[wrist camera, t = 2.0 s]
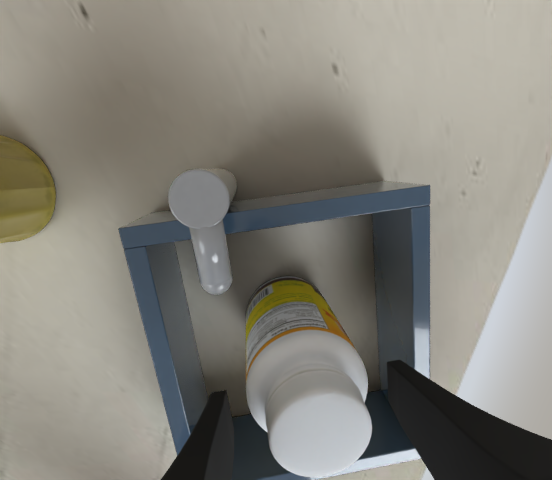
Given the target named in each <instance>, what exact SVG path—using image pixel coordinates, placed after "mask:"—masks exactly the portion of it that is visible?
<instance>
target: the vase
mask: <svg viewBox="0 0 552 480" xmlns="http://www.w3.org/2000/svg"><path fill="white" fill-rule="evenodd" d="M55 200H56V191H55V185H54V182H53V179H52V177H51V174H50V172H49V170H48V169H47V167H46V166H45V164H44V163H43V161H42V160H41V159H40V158H39V157H38V156H37V155H36V154H35V153H34V152H33V151H32V150H30V149H29V148H27V147H26V146H25V145H23V144H22V143H20V142H18V141H16V140H13V139H11V138H8V137H5V136H1V135H0V243H4V242H13V241H20V240H23V239H26V238H29V237H31V236H33V235H35V234H37V233H38V232H40V231H41V230H42V229H43V228H44V227H45V226H46V224H47V223H48V222H49V220H50V219H51V217H52V215H53V212H54V208H55Z"/></svg>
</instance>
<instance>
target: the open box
mask: <svg viewBox="0 0 552 480" xmlns="http://www.w3.org/2000/svg"><path fill="white" fill-rule="evenodd" d="M236 190H237V182H236V179H235V177H234V175H233V174H232V173H231V172H229V171H228V170H225V169H191V170H187V171H185V172H183V173H181V174H180V175H178V176H177V177H176V178H175V179H174V181H173V182H172V184H171V186H170V188H169V192H168V203H169V207H170V209H171V210H168V211H161V212H154V213H150V214H148V215H146V216H144V217H142V218H140V219H137V220H135V221H133V222H131V223H129V224H127V225H125V226H123V227H121V228H119V233H120V237H121V241H122V245H123V248H124V252H125V256H126V260H127V264H128V268H129V272H130V275H131V279H132V283H133V287H134V291H135V295H136V298H137V302H138V306H139V310H140V314H141V318H142V321H143V325H144V329H145V333H146V337H147V341H148V345H149V348H150V352H151V356H152V360H153V364H154V368H155V371H156V375H157V379H158V383H159V387H160V391H161V394H162V398H163V402H164V406H165V410H166V414H167V417H168V421H169V425H170V429H171V433H172V437H173V441H174V444H175V448H176V452H177V456H178V454H179V452H180V451H181V449H182V448H183V446H184V444H185V443H186V441H187V439H188V438H189V436H190V434H191V432H192V431H193V429H194V427H195V425H196V423H197V421H198V420H199V418H200V416H201V414H202V412H203V410H204V408H205V406H206V403H207V401H208V397H207V392H206V388H205V383H204V378H203V374H202V369H201V364H200V360H199V355H198V351H197V346H196V341H195V337H194V332H193V327H192V323H191V318H190V314H189V309H188V304H187V300H186V295H185V290H184V286H183V281H182V277H181V272H180V267H179V263H178V258H177V253H176V249H175V244H174V242H176V241H183V240H190V239H191V240H192V245H193V250H194V255H195V260H196V265H197V270H198V275H199V280H200V284H201V286H202V288H203V289H204V290H205V291H206V292H207V293H209V294H212V295H219V294H222V293H224V292H226V291H227V290H228V289H229V288H230V286H231V284H232V280H233V278H232V270H231V265H230V259H229V253H228V247H227V241H226V236H225V234H231V233H238V232H245V231H252V230H259V229H266V228H273V227H280V226H287V225H294V224H301V223H308V222H315V221H322V220H329V219H336V218H343V217H350V216H357V215H364V214H371V213H372V225H373V246H374V266H375V287H376V308H377V329H378V349H379V370H380V391H375V392H369V393H367V396H366V399H365V405H366V407H367V409H368V412H369V414H370V417H371V422H372V434H371V438H370V441H369V444H368V446H367V448H366V450H365V451H364V453H363V454H362V455H361V456H360V457H359V459H358V460H357V461H356V462H354V463H353V464H352V465H350V466H349V467H347V468H346V469H344V470H342V471H340V472H338V473H335V474H332V475H328V476H324V477H304V476H300V475H296V474H294V473H292V472H290V471H288V470H286V469H285V468H283V467H282V466H281V465H280V464H279V463H278V462H277V461H276V459H275V458H274V456H273V455H272V452H271V450H270V447H269V441H268V433H267V432H266V431H265V430H264V429H262V428H261V427H260V426H259V424H258V423H257V422H256V421H255V419H254V418H253V416H252V414H250V415H244V416H239V417H234V418H232V421H233V426H234V461H233V472H232V480H318V479H323V478H328V477H333V476H338V475H343V474H348V473H353V472H358V471H363V470H368V469H373V468H378V467H383V466H388V465H393V464H398V463H403V462H408V461H412V460H417V459H421V457H420V455H419V454H418V452H417V451H416V449H415V447H414V446H413V444H412V443H411V441H410V440H409V438H408V436H407V435H406V433H405V431H404V430H403V428H402V427H401V425H400V423H399V421H398V419H397V417H396V415H395V413H394V411H393V409H392V407H391V405H390V403H389V400H388V382H387V362H388V361H394V360H399V359H400V360H401V361H403V362H405V363H406V364H408V365H409V366H411V367H412V368H414V369H415V370H416V371H418V372H419V373H421V374H422V375H424V376H425V377H427V378H428V379H430V206H429V205H430V185H424V184H413V183H402V182H391V181H380V182H373V183H365V184H358V185H351V186H344V187H336V188H329V189H322V190H314V191H307V192H300V193H292V194H285V195H278V196H270V197H263V198H256V199H249V200H241V201H234V202H232V200H233V197H234V195H235V193H236Z"/></svg>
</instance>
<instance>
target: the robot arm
mask: <svg viewBox="0 0 552 480" xmlns="http://www.w3.org/2000/svg"><path fill="white" fill-rule="evenodd" d="M387 382H388V400H389V403H390V405H391V407H392V409H393V411H394V413H395V415H396V417H397V419H398V421H399V423H400V425H401V427H402V428H403V430H404V431H405V433H406V435H407V436H408V438H409V440H410V441H411V443H412V444H413V446H414V447H415V449H416V451H417V452H418V454H419V455H420V457H421V459H422V460H423V462H424V463H425V465H426V466H427V468H428V470H429V471H430V472H431V474H432V476H433V478H434V479H435V480H552V440H551V439H547V438H545V437H542V436H539V435H537V434H535V433H532V432H529V431H527V430H524V429H522V428H520V427H517V426H515V425H513V424H510V423H508V422H506V421H504V420H501V419H499V418H497V417H495V416H493V415H491V414H488V413H487V412H485V411H483V410H481V409H479V408H477V407H475V406H473V405H471V404H469V403H468V402H466V401H464V400H462V399H461V398H459V397H457V396H456V395H454V394H452V393H450V392H449V391H447V390H446V389H444V388H442V387H441V386H439V385H438V384H436V383H435V382H433V381H431V380H430V379H428V378H427V377H425V376H424V375H422V374H421V373H419V372H418V371H416V370H415V369H414V368H412V367H411V366H409V365H408V364H406V363H405V362H403V361H401V360H400V359H399V360H394V361H388V362H387ZM233 461H234V426H233V421H232V416H231V411H230V406H229V401H228V396H227V391H226V390H224V391H218V392H213V393H212V394H211V395H210V397H209V399H208V401H207V403H206V406H205V408H204V410H203V412H202V414H201V416H200V418H199V420H198V421H197V423H196V425H195V427H194V429H193V431H192V432H191V434H190V436H189V438H188V439H187V441H186V443H185V444H184V446H183V448H182V449H181V451H180V452H179V454H178V456H177V457H176V459H175V460H174V462H173V463H172V465H171V466H170V468H169V469H168V470H167V472H166V473H165V475H164V476H163V477H162V479H161V480H232V472H233Z"/></svg>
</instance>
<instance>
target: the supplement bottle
mask: <svg viewBox="0 0 552 480" xmlns="http://www.w3.org/2000/svg"><path fill="white" fill-rule="evenodd" d="M367 389H368V378H367V372H366V369H365V366H364V363H363V361H362V359H361V357H360V356H359V354H358V352H357V351H356V349H355V347H354V346H353V344H352V343H351V341H350V339H349V338H348V336H347V335H346V333H345V331H344V330H343V328H342V326H341V325H340V323H339V322H338V320H337V318H336V317H335V315H334V313H333V312H332V310H331V309H330V307H329V305H328V304H327V302H326V301H325V299H324V297H323V296H322V294H321V293H320V292H319V290H318V289H317V288H316V287H315V286H314V285H312V284H311V283H309V282H308V281H306V280H304V279H301V278H297V277H288V276H287V277H279V278H275V279H272V280H270V281H268V282H266V283H265V284H263V285H262V286H261V287H259V288H258V289H257V290H256V291H255V293H254V294H253V295H252V297H251V299H250V301H249V304H248V307H247V311H246V397H247V402H248V406H249V409H250V412H251V414H252V416H253V418H254V419H255V421H256V422H257V423H258V424H259V426H260V427H261V428H262V429H264V430H265V431H266V432H267V433H268V441H269V447H270V450H271V452H272V455H273V456H274V458H275V459H276V461H277V462H278V463H279V464H280V465H281V466H282V467H283V468H285V469H286V470H288V471H290V472H292V473H294V474H296V475H300V476H304V477H324V476H328V475H332V474H335V473H338V472H340V471H342V470H344V469H346V468H347V467H349V466H350V465H352V464H353V463H354V462H356V461H357V460H358V459H359V457H360V456H361V455H362V454H363V453H364V451H365V450H366V448H367V446H368V444H369V441H370V438H371V434H372V422H371V417H370V414H369V412H368V409H367V407H366V405H365V399H366V396H367Z"/></svg>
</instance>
